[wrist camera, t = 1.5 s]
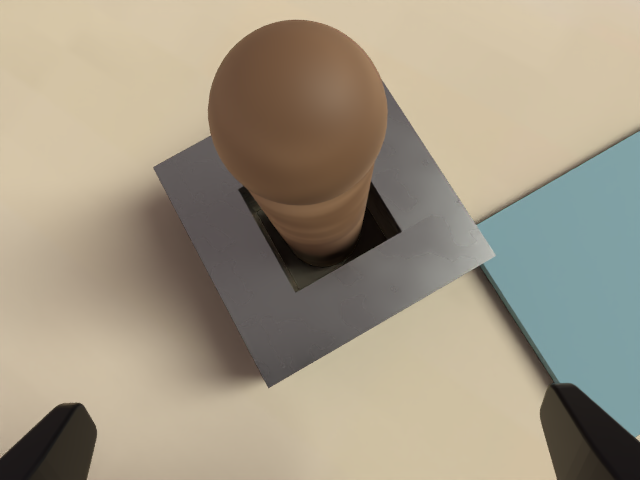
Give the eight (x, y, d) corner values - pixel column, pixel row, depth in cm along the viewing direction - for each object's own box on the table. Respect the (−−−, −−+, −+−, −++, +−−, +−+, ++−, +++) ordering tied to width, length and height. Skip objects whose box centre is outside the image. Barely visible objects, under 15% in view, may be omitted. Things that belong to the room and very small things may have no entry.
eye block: (282, 375, 21) (268, 388, 17) (185, 193, 23) (153, 167, 19) (468, 267, 22) (495, 255, 18) (360, 96, 23) (363, 51, 20)
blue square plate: (598, 450, 20) (606, 454, 20) (460, 234, 22) (463, 232, 21) (807, 323, 21) (821, 323, 20) (654, 122, 23) (662, 117, 22)
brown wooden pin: (307, 283, 22) (244, 215, 8) (269, 215, 23) (145, 37, 8) (377, 243, 22) (439, 105, 8) (337, 177, 23) (328, -60, 9)
